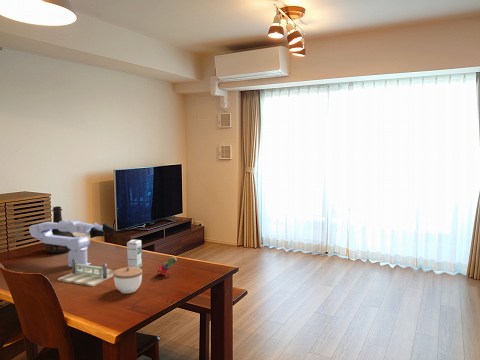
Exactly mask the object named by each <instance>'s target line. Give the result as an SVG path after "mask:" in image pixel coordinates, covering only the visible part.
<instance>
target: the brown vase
mask: <svg viewBox="0 0 480 360" xmlns="http://www.w3.org/2000/svg"><path fill="white" fill-rule="evenodd" d="M62 210H63V209H62V207H61V206H58V205H57V206H53V207H52V210H51V212H52V214H53V215H52V222H54V223H59V222H60V221H62V220H63V216H62ZM51 230H52V233H53V235H57V236H66V237H75V235H74V234H73V233H70V232H67V231H59V230H58V229H51ZM42 245H43V247H44V248H45V250H46V251H47V252H49V253H52V254H61V253H62V254H63V253H67V252H69V251H70V250H71V249H69V248H68V247H67V246H61V245H53V244H46V243H43V242H42Z"/></svg>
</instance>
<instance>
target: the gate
mask: <svg viewBox="0 0 480 360" xmlns="http://www.w3.org/2000/svg"><path fill="white" fill-rule="evenodd" d="M79 267H82V268H83V271H82V270H80V268H79ZM82 268H81V269H82ZM86 268H88V269H92V272H88V271H86ZM95 270H99V273H95ZM75 273H80V274H86V275H92V276H99V277H102V276H103V266H95V265H91V264H90V265H84V264H75Z"/></svg>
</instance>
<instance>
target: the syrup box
mask: <svg viewBox="0 0 480 360" xmlns="http://www.w3.org/2000/svg"><path fill="white" fill-rule="evenodd" d="M126 249H127V251H126V253H127V267H138V268H140V267H142V266H143V252H142V251H143V250H142V240H141V239H131V240H129V241H128V242H126Z"/></svg>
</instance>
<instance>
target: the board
mask: <svg viewBox="0 0 480 360" xmlns="http://www.w3.org/2000/svg"><path fill="white" fill-rule="evenodd" d="M79 270H82V271H83V268H79ZM115 270H116V269H109V268H107V278H105V279H104V278H103V276H102V277H99V276H92V275H86V274H80V273H75V274H72V272H70V273H68V274H65V275H63V276H61V277H58V278H57V281H59V282H64V283H71V284H77V285H82V286H88V287H94V286H97V285H98V284H101V283H103V282H104V281H106V280H108V279H110V278H112V277H113V278H114V274H113V273H114V271H115ZM86 271H88V272H92V269H88V268H86ZM95 273H99V270H95Z"/></svg>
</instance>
